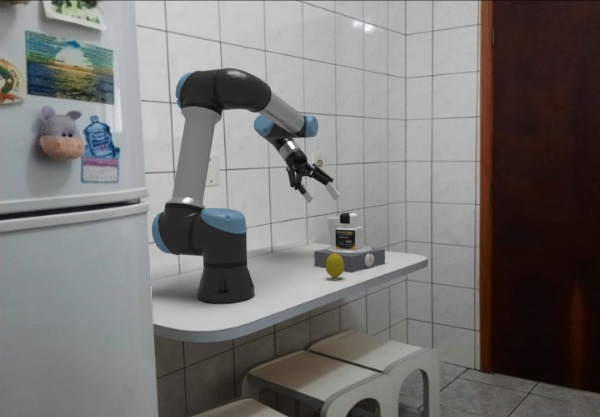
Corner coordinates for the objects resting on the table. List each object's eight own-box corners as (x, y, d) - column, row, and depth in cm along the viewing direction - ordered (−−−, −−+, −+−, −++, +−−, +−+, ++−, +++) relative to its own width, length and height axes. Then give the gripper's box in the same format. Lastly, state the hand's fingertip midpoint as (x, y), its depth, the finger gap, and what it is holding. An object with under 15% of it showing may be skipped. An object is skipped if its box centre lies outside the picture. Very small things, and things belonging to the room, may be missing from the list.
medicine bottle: (335, 249, 180) (334, 213, 178) (343, 246, 186) (342, 211, 185) (355, 250, 176) (354, 214, 175) (362, 247, 183) (362, 212, 182)
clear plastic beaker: (352, 248, 214) (352, 216, 212) (350, 252, 205) (350, 218, 203) (328, 248, 215) (328, 216, 214) (326, 252, 206) (325, 218, 205)
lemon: (343, 281, 158) (342, 254, 157) (324, 280, 159) (324, 254, 158) (345, 276, 163) (345, 251, 163) (327, 276, 165) (327, 250, 164)
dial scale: (352, 272, 169) (352, 255, 169) (314, 265, 181) (314, 249, 181) (386, 263, 182) (386, 247, 181) (348, 257, 194) (348, 242, 193)
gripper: (312, 163, 207) (342, 203, 198) (263, 164, 190) (293, 208, 180) (321, 149, 203) (353, 189, 194) (273, 149, 185) (304, 193, 176)
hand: (324, 198), depth 187 cm, fingers open, 13 cm apart
